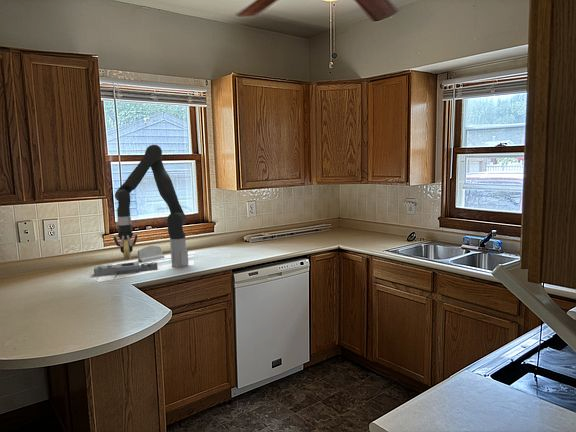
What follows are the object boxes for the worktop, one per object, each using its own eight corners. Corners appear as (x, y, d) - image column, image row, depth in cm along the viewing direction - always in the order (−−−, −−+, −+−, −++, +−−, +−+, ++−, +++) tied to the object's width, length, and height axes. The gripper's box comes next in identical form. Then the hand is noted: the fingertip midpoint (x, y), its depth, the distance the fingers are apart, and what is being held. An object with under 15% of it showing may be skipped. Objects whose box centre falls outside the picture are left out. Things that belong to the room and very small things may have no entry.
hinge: (141, 262, 280) (138, 247, 281) (138, 263, 283) (135, 249, 285) (165, 257, 292) (161, 243, 293) (162, 259, 295) (158, 245, 296)
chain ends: (157, 266, 269) (156, 258, 268) (158, 269, 259) (157, 261, 258) (95, 272, 257) (94, 264, 256) (94, 277, 247) (93, 268, 247)
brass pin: (132, 258, 259) (130, 238, 257) (127, 259, 255) (125, 239, 253) (127, 257, 260) (125, 238, 259) (122, 259, 257) (120, 239, 255)
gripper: (137, 222, 261) (139, 250, 263) (111, 223, 256) (114, 252, 258) (137, 223, 254) (139, 252, 256) (111, 225, 249) (113, 255, 251)
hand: (126, 252), depth 257 cm, fingers closed on brass pin, 4 cm apart
